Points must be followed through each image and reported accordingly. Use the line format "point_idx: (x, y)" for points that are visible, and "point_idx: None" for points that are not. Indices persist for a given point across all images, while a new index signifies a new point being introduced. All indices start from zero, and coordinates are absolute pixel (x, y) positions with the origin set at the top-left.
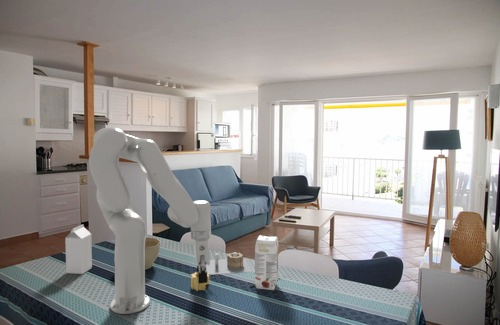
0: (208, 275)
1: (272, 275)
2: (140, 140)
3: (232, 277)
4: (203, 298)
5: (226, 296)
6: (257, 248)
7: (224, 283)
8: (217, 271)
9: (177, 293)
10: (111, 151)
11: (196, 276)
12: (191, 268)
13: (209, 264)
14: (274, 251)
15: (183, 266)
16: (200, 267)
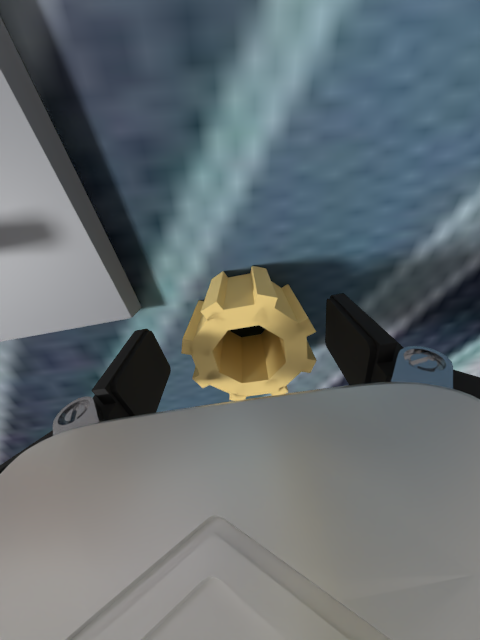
0: (256, 300)
1: None
2: None
3: (40, 57)
4: (392, 281)
5: (422, 109)
6: None
7: (188, 148)
8: (31, 229)
9: (309, 388)
10: None
11: (233, 366)
12: (38, 377)
13: (466, 393)
14: None
15: (35, 407)
16: (151, 380)
